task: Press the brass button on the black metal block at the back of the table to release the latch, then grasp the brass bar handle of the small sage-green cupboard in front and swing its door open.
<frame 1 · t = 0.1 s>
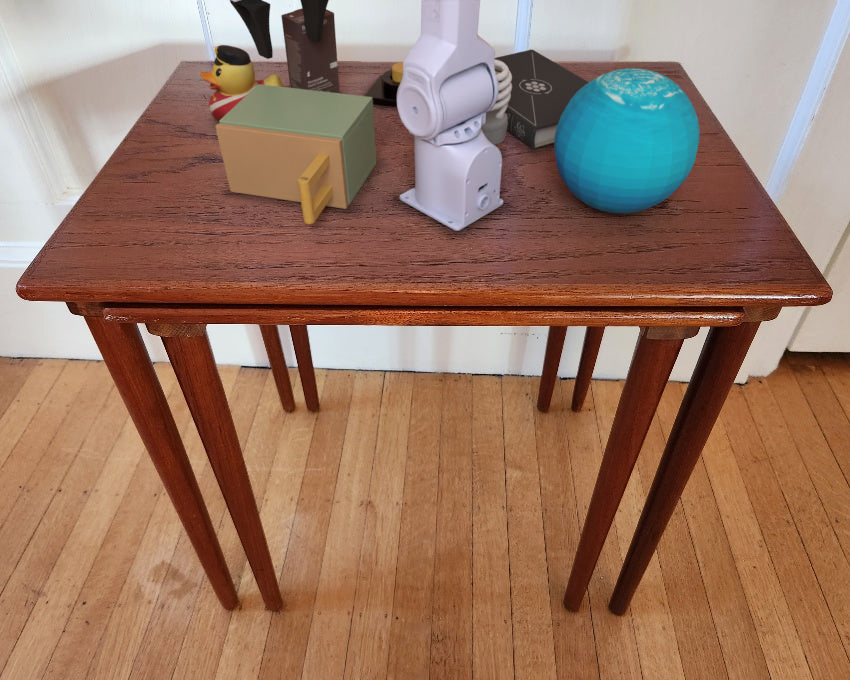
hand: (290, 47, 87), 10 cm above the table, tool pointing down, fingers open, 7 cm apart
box: (317, 101, 99), on the table
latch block: (405, 95, 100), on the table
toy: (251, 119, 95), on the table
cupboard: (307, 175, 83), on the table
light bulb: (484, 156, 87), on the table
decorative orb: (611, 204, 79), on the table
book: (530, 107, 97), on the table
cupboard door: (271, 180, 74), point 4 cm above the table, hinge at 0.0°
button: (404, 73, 97), point 3 cm above the table, slide at 0.1 cm
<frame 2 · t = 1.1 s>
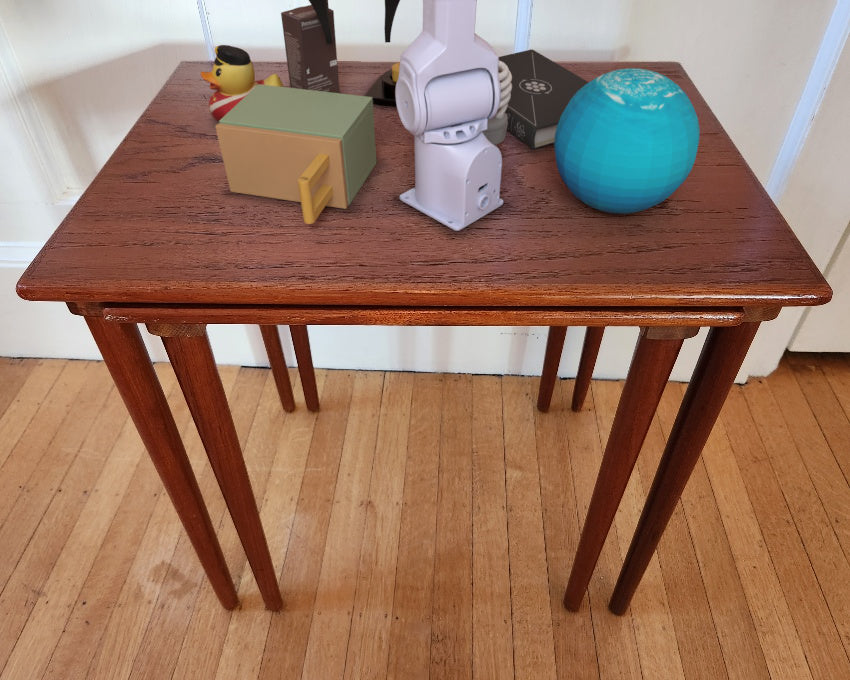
hand: (358, 40, 91), 9 cm above the table, tool pointing down, fingers open, 7 cm apart
box: (317, 100, 99), on the table, touching gripper
everything else where it was.
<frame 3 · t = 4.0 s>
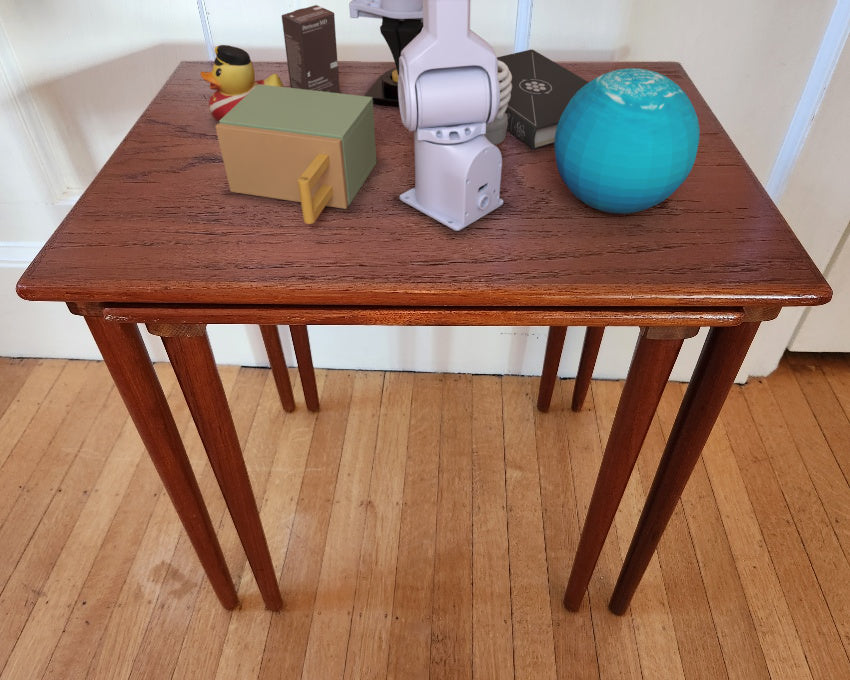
hand: (404, 73, 97), 3 cm above the table, tool pointing down, fingers closed, pressing on button
box: (317, 101, 99), on the table
button: (404, 79, 98), point 2 cm above the table, slide at -0.8 cm, touching gripper
everything else where it was.
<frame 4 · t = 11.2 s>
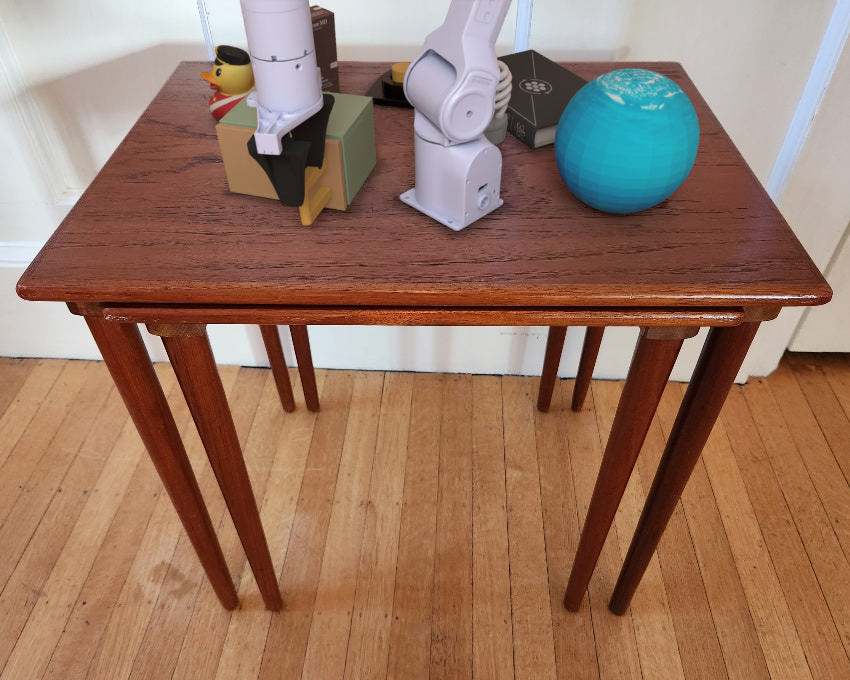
hand: (302, 185, 69), 7 cm above the table, tool pointing down, fingers open, 7 cm apart
cupboard door: (270, 181, 74), point 4 cm above the table, hinge at 1.5°, touching gripper
button: (404, 73, 97), point 3 cm above the table, slide at 0.1 cm
everything else where it was.
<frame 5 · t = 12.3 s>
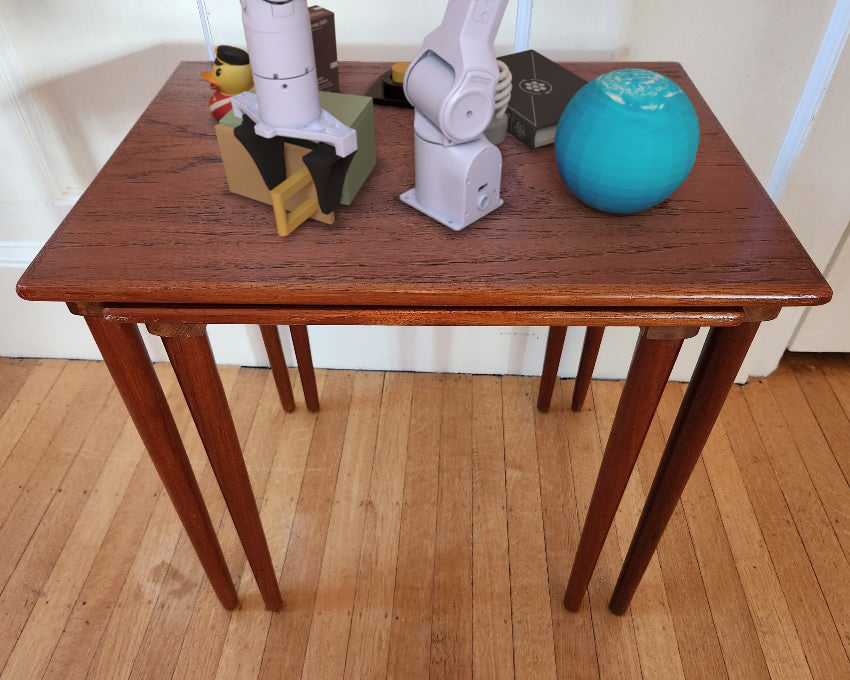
hand: (303, 197, 71), 5 cm above the table, tool pointing down, fingers open, 7 cm apart
cupboard door: (257, 186, 73), point 4 cm above the table, hinge at 13.6°
everything else where it was.
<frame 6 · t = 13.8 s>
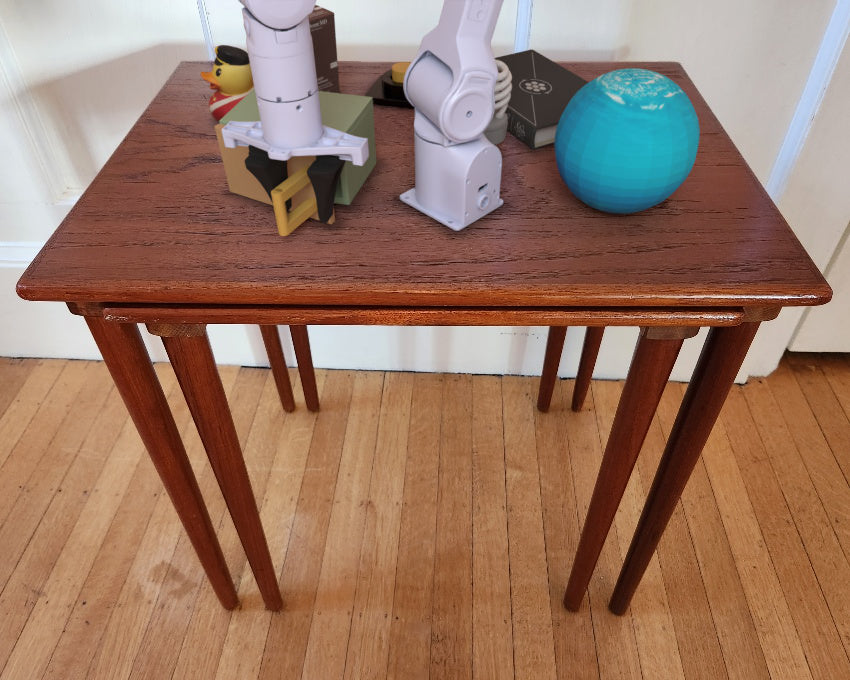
hand: (305, 214, 72), 3 cm above the table, tool pointing down, fingers open, 4 cm apart
cupboard door: (257, 186, 74), point 4 cm above the table, hinge at 13.4°, touching gripper
everything else where it was.
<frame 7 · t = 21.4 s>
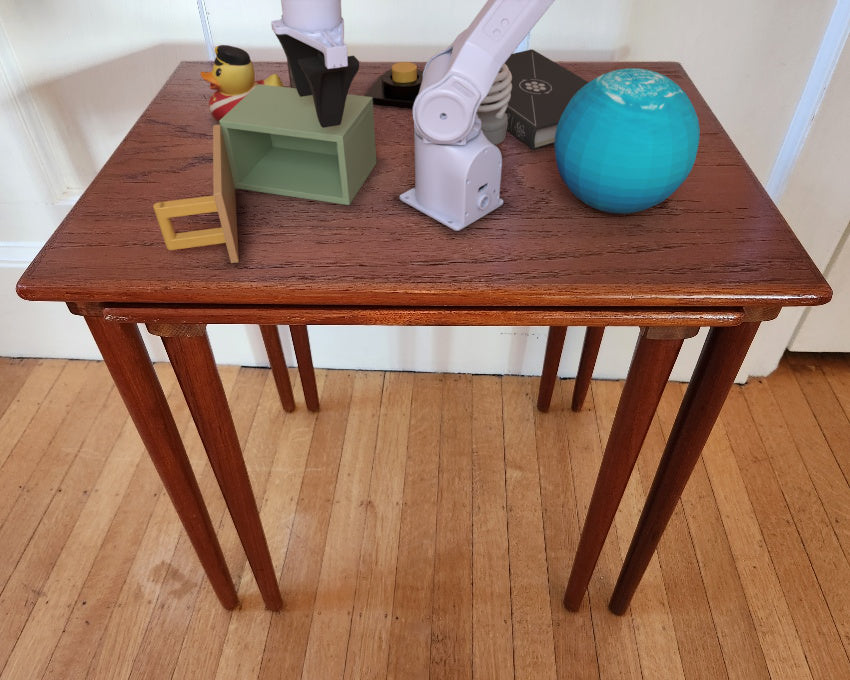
hand: (319, 109, 73), 10 cm above the table, tool pointing down, fingers open, 7 cm apart
cupboard door: (196, 195, 72), point 4 cm above the table, hinge at 61.7°
everything else where it was.
at the end: button pushed in 1.2 cm at the most during the clip, back to where it started at the end; button slide at 0.1 cm; cupboard door at +62° (first picture: +0°) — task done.
